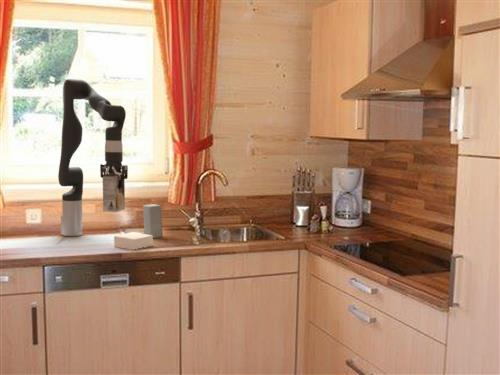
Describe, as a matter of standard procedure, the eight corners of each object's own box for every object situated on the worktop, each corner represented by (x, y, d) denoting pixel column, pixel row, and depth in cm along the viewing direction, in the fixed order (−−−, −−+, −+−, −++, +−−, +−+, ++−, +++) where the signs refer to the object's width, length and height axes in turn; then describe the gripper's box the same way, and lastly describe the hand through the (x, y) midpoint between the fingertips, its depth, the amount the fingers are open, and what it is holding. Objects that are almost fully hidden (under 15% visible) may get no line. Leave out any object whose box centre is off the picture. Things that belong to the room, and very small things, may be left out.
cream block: (114, 247, 260) (114, 236, 259) (133, 242, 270) (133, 232, 269) (133, 250, 253) (133, 239, 252) (152, 246, 263) (152, 235, 262)
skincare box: (163, 237, 282) (163, 205, 280) (149, 238, 278) (149, 206, 276) (155, 234, 289) (155, 203, 287) (142, 236, 285) (142, 204, 283)
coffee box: (112, 208, 262) (111, 173, 260) (125, 209, 261) (125, 173, 259) (102, 211, 253) (102, 174, 251) (116, 212, 252) (115, 175, 250)
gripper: (95, 150, 254) (95, 187, 256) (120, 151, 248) (120, 189, 249) (107, 150, 261) (107, 186, 263) (132, 151, 254) (132, 188, 256)
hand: (114, 188), depth 256 cm, fingers closed on coffee box, 7 cm apart
